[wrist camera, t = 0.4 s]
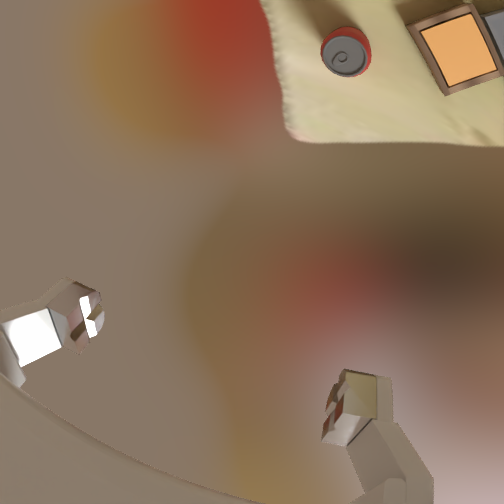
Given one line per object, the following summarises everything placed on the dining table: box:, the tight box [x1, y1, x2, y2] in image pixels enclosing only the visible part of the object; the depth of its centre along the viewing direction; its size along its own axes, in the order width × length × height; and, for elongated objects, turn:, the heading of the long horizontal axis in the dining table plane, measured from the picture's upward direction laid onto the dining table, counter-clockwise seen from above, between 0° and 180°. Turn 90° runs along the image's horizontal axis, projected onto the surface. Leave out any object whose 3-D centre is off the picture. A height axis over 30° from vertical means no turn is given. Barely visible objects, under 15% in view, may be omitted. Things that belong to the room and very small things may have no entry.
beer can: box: [321, 27, 371, 77], centre depth 35 cm, size 7×7×12 cm
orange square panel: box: [420, 14, 496, 86], centre depth 30 cm, size 9×9×1 cm
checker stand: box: [406, 3, 504, 96], centre depth 31 cm, size 12×12×4 cm
